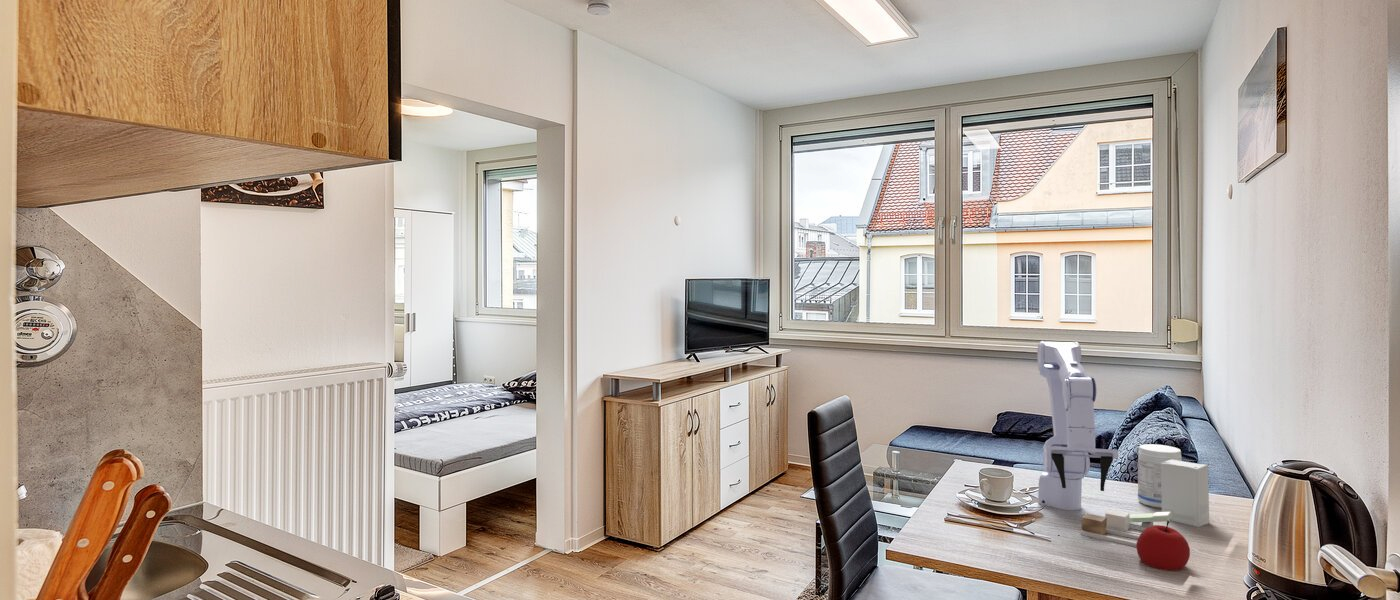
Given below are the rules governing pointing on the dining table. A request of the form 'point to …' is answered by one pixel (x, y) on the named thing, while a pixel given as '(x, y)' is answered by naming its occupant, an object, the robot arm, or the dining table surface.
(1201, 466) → the skincare box
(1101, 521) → the brown cube
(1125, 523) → the white cube
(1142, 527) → the control board
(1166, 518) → the sage rocker
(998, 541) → the dining table surface
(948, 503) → the dining table surface
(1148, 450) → the supplement tub
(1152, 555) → the apple
